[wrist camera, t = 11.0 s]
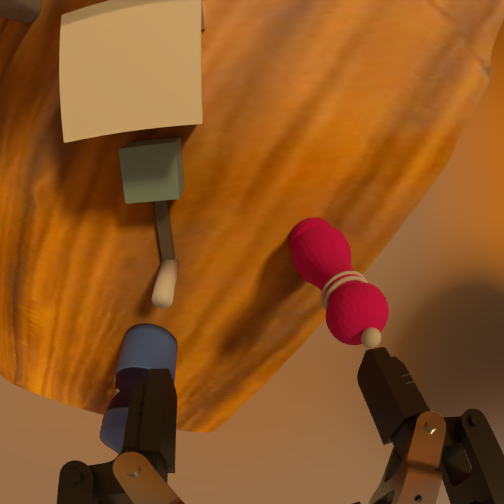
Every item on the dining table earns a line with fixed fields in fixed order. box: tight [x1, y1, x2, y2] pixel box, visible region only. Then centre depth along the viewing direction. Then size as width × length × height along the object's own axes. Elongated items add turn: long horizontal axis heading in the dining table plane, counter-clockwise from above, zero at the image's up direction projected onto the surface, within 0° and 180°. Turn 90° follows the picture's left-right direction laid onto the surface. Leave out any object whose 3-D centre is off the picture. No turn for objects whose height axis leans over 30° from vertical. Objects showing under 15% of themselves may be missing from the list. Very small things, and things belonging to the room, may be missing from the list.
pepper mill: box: [289, 218, 389, 348], centre depth 31 cm, size 7×7×20 cm
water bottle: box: [100, 323, 178, 457], centre depth 35 cm, size 9×9×25 cm
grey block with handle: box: [118, 137, 184, 308], centre depth 32 cm, size 18×6×8 cm, turn 1°
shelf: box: [59, 0, 206, 143], centre depth 23 cm, size 12×12×11 cm
